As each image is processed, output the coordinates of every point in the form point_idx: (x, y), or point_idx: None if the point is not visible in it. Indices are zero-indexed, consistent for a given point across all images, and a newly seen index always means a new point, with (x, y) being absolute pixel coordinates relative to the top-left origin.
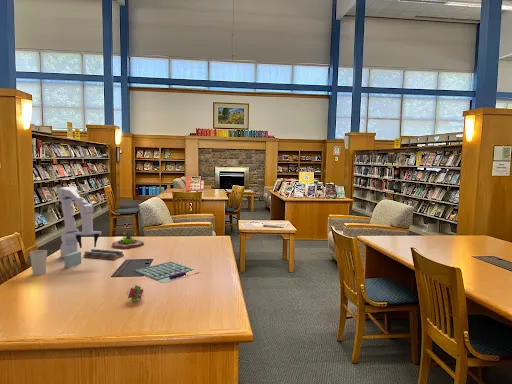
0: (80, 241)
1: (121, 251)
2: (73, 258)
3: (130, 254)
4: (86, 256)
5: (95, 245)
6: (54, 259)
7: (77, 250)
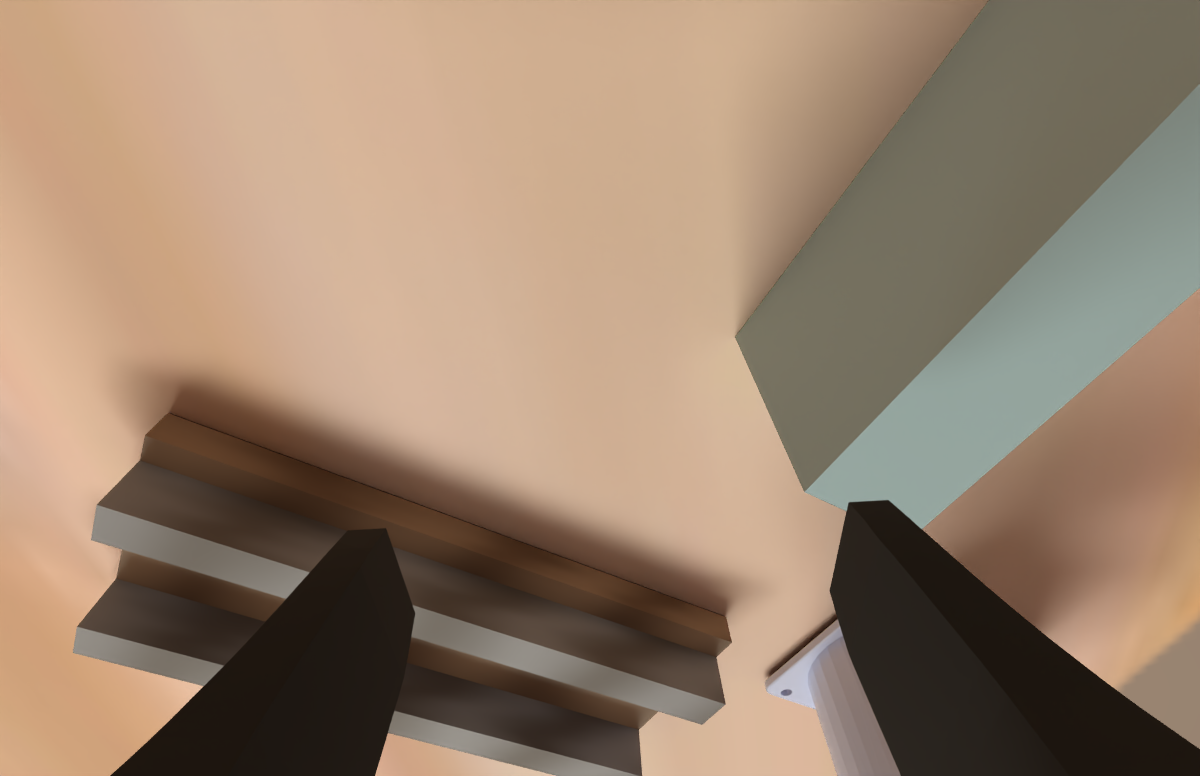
0: (1059, 757)
1: (92, 650)
2: (974, 190)
3: (63, 639)
4: (684, 614)
5: (307, 576)
6: (1116, 587)
7: (834, 746)
